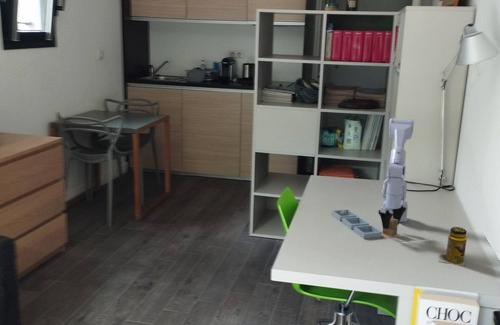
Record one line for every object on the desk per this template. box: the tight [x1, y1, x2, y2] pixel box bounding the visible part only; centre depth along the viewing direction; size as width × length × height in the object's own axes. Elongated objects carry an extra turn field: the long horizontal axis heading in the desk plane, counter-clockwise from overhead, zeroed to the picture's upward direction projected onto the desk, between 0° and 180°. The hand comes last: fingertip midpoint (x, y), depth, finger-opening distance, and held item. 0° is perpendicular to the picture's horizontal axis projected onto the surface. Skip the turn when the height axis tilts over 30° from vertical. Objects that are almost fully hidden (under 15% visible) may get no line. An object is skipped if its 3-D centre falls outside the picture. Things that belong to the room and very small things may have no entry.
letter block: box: [382, 218, 399, 236], centre depth 204 cm, size 4×4×6 cm
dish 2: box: [341, 216, 370, 231], centre depth 213 cm, size 8×8×2 cm
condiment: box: [438, 226, 468, 267], centre depth 182 cm, size 7×8×12 cm
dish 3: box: [353, 224, 383, 240], centre depth 204 cm, size 8×8×2 cm
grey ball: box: [341, 211, 348, 216], centre depth 222 cm, size 3×3×3 cm
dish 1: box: [330, 208, 358, 222], centre depth 222 cm, size 8×8×2 cm
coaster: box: [380, 230, 404, 239], centre depth 205 cm, size 7×7×1 cm
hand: (390, 226), depth 204 cm, fingers open, 7 cm apart
